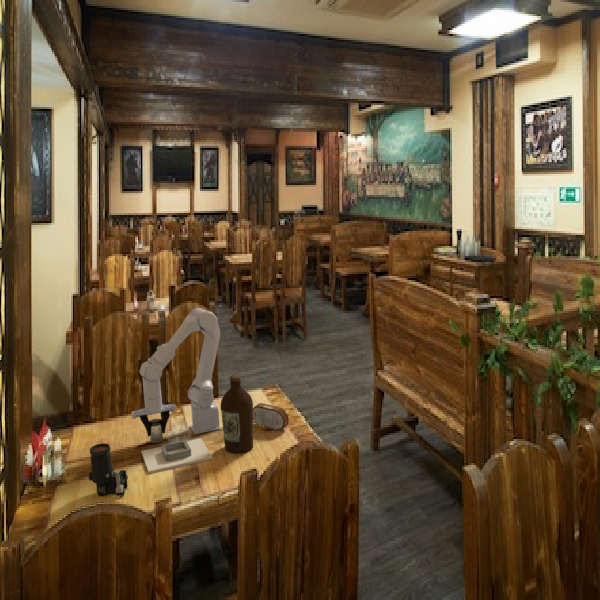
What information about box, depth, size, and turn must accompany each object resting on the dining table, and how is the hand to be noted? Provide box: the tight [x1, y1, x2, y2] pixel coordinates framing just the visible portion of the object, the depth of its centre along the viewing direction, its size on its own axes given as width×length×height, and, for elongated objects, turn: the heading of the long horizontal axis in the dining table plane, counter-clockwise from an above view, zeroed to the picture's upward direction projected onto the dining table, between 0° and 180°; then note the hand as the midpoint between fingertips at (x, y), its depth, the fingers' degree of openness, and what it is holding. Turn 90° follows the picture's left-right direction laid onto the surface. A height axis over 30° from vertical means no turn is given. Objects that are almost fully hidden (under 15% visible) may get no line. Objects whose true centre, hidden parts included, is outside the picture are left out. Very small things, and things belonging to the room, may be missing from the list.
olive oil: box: [220, 374, 254, 455], centre depth 172 cm, size 11×11×25 cm
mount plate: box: [141, 437, 213, 474], centre depth 170 cm, size 20×15×3 cm
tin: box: [253, 402, 290, 431], centre depth 189 cm, size 15×3×8 cm, turn 58°
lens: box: [149, 418, 164, 444], centre depth 180 cm, size 4×4×7 cm
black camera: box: [87, 442, 129, 498], centre depth 148 cm, size 8×14×10 cm
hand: (156, 433), depth 180 cm, fingers closed on lens, 4 cm apart
